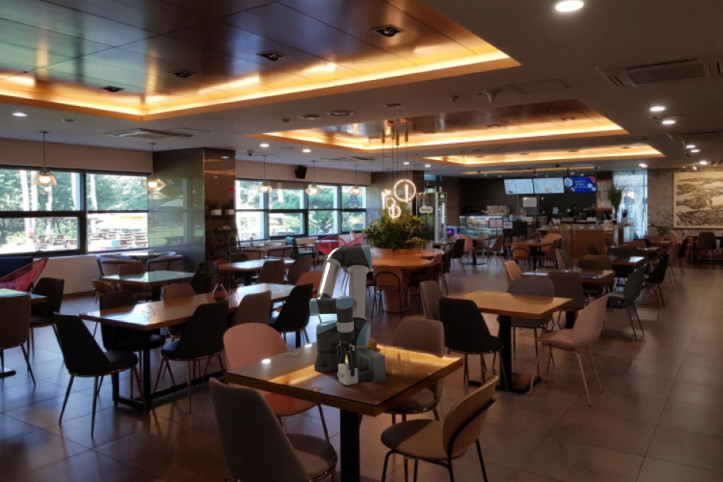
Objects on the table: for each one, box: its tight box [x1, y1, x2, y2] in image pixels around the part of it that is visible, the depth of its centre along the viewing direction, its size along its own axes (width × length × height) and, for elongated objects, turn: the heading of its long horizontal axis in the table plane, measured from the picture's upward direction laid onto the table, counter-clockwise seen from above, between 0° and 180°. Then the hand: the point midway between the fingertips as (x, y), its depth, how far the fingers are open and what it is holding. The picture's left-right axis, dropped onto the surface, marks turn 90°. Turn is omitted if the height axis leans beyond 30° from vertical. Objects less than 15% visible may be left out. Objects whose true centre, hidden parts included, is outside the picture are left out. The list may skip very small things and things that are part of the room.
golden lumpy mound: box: [356, 337, 378, 352], centre depth 304 cm, size 14×16×8 cm
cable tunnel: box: [356, 348, 387, 384], centre depth 251 cm, size 17×6×12 cm, turn 31°
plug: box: [336, 361, 387, 386], centre depth 249 cm, size 7×24×8 cm, turn 121°
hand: (347, 380), depth 245 cm, fingers closed on plug, 7 cm apart
